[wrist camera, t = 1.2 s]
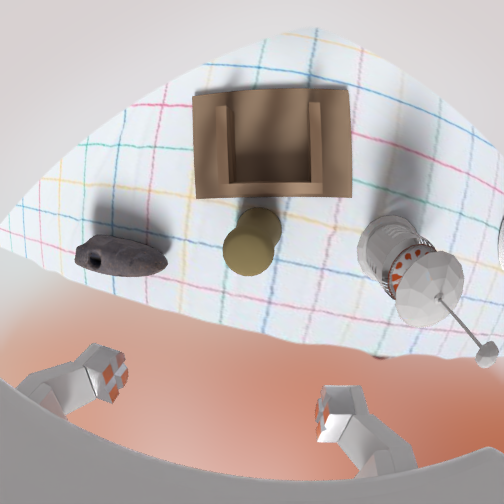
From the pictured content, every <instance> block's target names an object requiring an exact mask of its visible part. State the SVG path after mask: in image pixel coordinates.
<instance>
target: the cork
mask: <svg viewBox="0 0 504 504" xmlns="http://www.w3.org/2000/svg"><path fill="white" fill-rule="evenodd" d="M281 233H282V230H281V224H280V221H279V219H278V218H277V216H276V215H275V214H274V213H273V212H271V211H270V210H268V209H265V208H252V209H249V210H247V211H246V212H245V213H243V214H242V215H241V217H240V218H239V220H238V223H237V226H236V228H235V229H234V230H232V231H231V232H230V233H229V234H228V235H227V237H226V239H225V240H224V244H223V257H224V260H225V262H226V264H227V265H228V266H229V268H230V269H231V270H233V271H234V272H236V273H237V274H240V275H243V276H254V275H258V274H260V273H262V272H263V271H264V270H266V269H267V268H268V267H269V265H270V264H271V263H272V260H273V257H274V247H275V245H276V244H277V243H278V241H279V240H280V237H281Z"/></svg>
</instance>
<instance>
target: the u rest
mask: <svg viewBox="0 0 504 504" xmlns="http://www.w3.org/2000/svg"><path fill="white" fill-rule="evenodd" d="M192 105H193V145H194V168H195V187H196V199H206V198H233V197H345V198H352V145H351V121H350V106H349V93H348V90H334V89H307V88H286V89H258V90H243V91H232V92H222V93H213V94H206V95H199V96H192Z"/></svg>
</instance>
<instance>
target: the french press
mask: <svg viewBox="0 0 504 504" xmlns="http://www.w3.org/2000/svg"><path fill="white" fill-rule="evenodd" d="M420 238H421V239H422V241H423V244H422V242H421V240H420ZM424 240H425V241H426V244H427V245H426V244H425V242H424ZM419 241H420V244H419ZM428 243H429V244H430V245H431V246H429V244H428ZM357 254H358V262H359V264H360V266H361V269H362V271H363V272H364V273H365V274H366V275H367V276H368V277H370V278H371V279H372V280H375V281H378V282H379V283H380V284H381V286H382V288H383V289H384V290H385V292H386V293H387V294H388V295H389V296H390V297H391V298H392V299H394V300H396V303H395V306H396V308H397V311H398V314H399V317H400V318H401V319H402V320H403V321H404V322H405V323H406V324H407V325H408V326H413V327H417V328H424V327H429V326H433V325H435V324H436V323H438V322H440V321H442V320H443V319H445V318H446V317H447V316H448V315H449V314H450V313H451V314H452V316H453V317H454V318H455V319H456V320H457V321H458V322H459V324H460V325H461V326H462V327H463V328H464V329H465V331H466V332H467V333H468V334H469V335H470V337H471V338H472V339H473V340H474V341H475V343H476V344H477V345H478V346H479V348H480V349H479V351H478V353H477V355H476V358H475V360H476V362H477V364H478V366H480V367H482V368H487V367H490V366H491V365H493V364H494V363H495V361H496V358H497V356H498V353H499V350H498V348H497V346H496V345H495V343H494V342H493V341H490V342H487V343H486V344H484V345H483V346H482V345H481V344H480V342H479V341H478V340H477V339H476V338H475V336H474V335H473V334H472V333H471V332H470V331H469V329H468V328H467V327H466V326H465V325H464V324H463V322H462V321H461V320H460V319H459V318H458V317H457V316H456V315H455V314H454V312H453V311H452V310H453V309H454V308H455V307H456V305H457V303H458V301H459V299H460V297H461V295H462V291H463V284H464V275H463V270H462V266H461V264H460V263H459V262H458V260H457V259H456V258H455V256H454V255H451V254H449V253H446V252H444V251H439V252H437V251H436V250H435V248H434V246H433V245H432V244H431V243H430V242H429V241H428V240H426V239H425V238H424V237H421V236H420V235H419V234H417V232H416V230H415V228H414V227H413V226H412V225H411V224H410V222H409V221H408V220H407V219H404V218H401V217H399V216H396V215H391V216H382V217H380V218H378V219H377V220H375V221H373V222H371V223H370V224H369V225H368V227H367V228H366V229H365V230H364V232H363V233H362V234H361V237H360V240H359V243H358V246H357ZM385 283H388V284H385ZM383 285H386V286H388V287H385V286H384V287H385V288H386V289H389V291H388V290H386V289H385V288H384V287H383ZM389 293H391V295H390V294H389Z"/></svg>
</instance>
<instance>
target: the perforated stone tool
mask: <svg viewBox="0 0 504 504" xmlns="http://www.w3.org/2000/svg"><path fill="white" fill-rule="evenodd" d="M75 263H76V264H77V265H79V266H81V267H83V268H86V269H89V270H91V271H95V272H98V273H102V274H107V275H112V276H121V277H140V276H148V275H153V274H155V273H158V272H160V271H162V270H163V269H165V268H166V266H167V265H168V261H167V259H166V258H165V256H164V255H162V254H161V253H160V252H159V251H157V250H156V249H154V248H152V247H150V246H148V245H145V244H142V243H139V242H135V241H132V240H127V239H123V238H117V237H113V236H107V235H95V236H93V237H92V238H91V239H89V240H88V241H87V242H86V243H84V244H83V245H80V246H78V247H77V248H76V255H75Z"/></svg>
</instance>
